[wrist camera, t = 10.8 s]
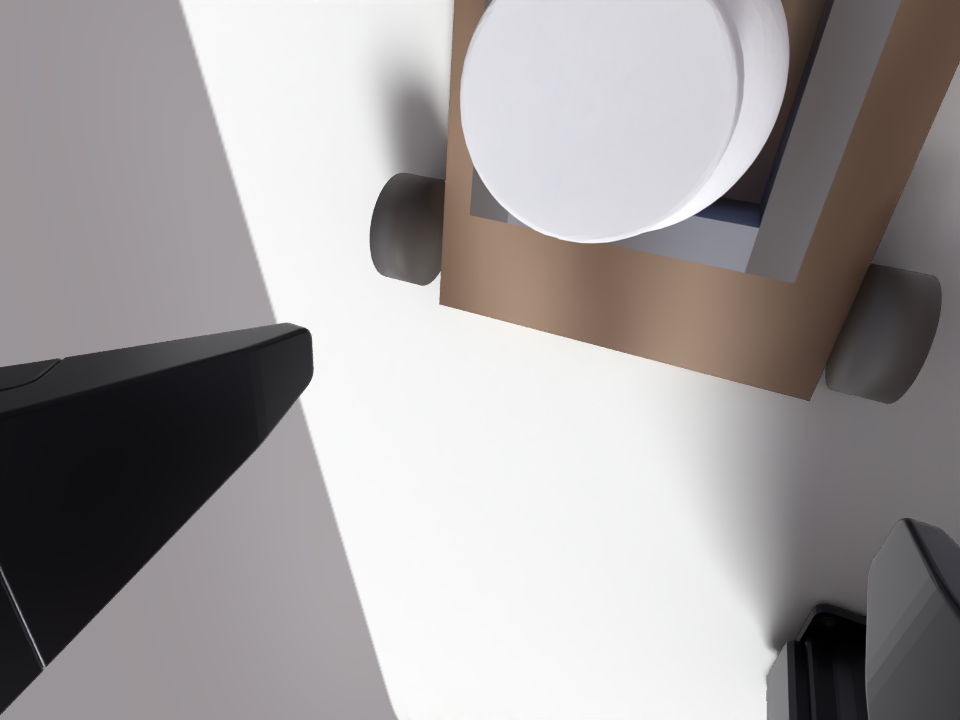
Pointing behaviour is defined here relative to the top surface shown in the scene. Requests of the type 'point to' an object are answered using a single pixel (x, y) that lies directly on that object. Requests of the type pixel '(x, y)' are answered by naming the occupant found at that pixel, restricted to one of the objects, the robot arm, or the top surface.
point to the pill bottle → (619, 108)
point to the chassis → (726, 225)
